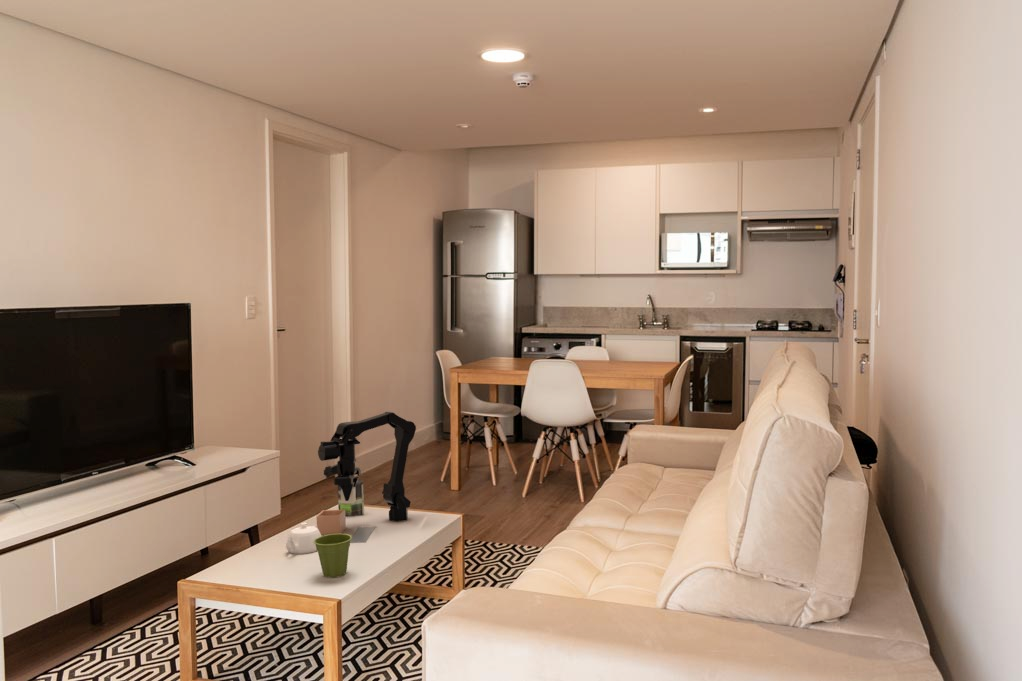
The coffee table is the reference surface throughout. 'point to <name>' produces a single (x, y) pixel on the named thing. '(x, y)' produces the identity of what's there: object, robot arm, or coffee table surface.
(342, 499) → the block
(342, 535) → the plant pot
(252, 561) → the coffee table surface
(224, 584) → the coffee table surface
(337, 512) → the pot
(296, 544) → the teapot
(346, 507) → the coffee can
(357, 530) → the slate board
